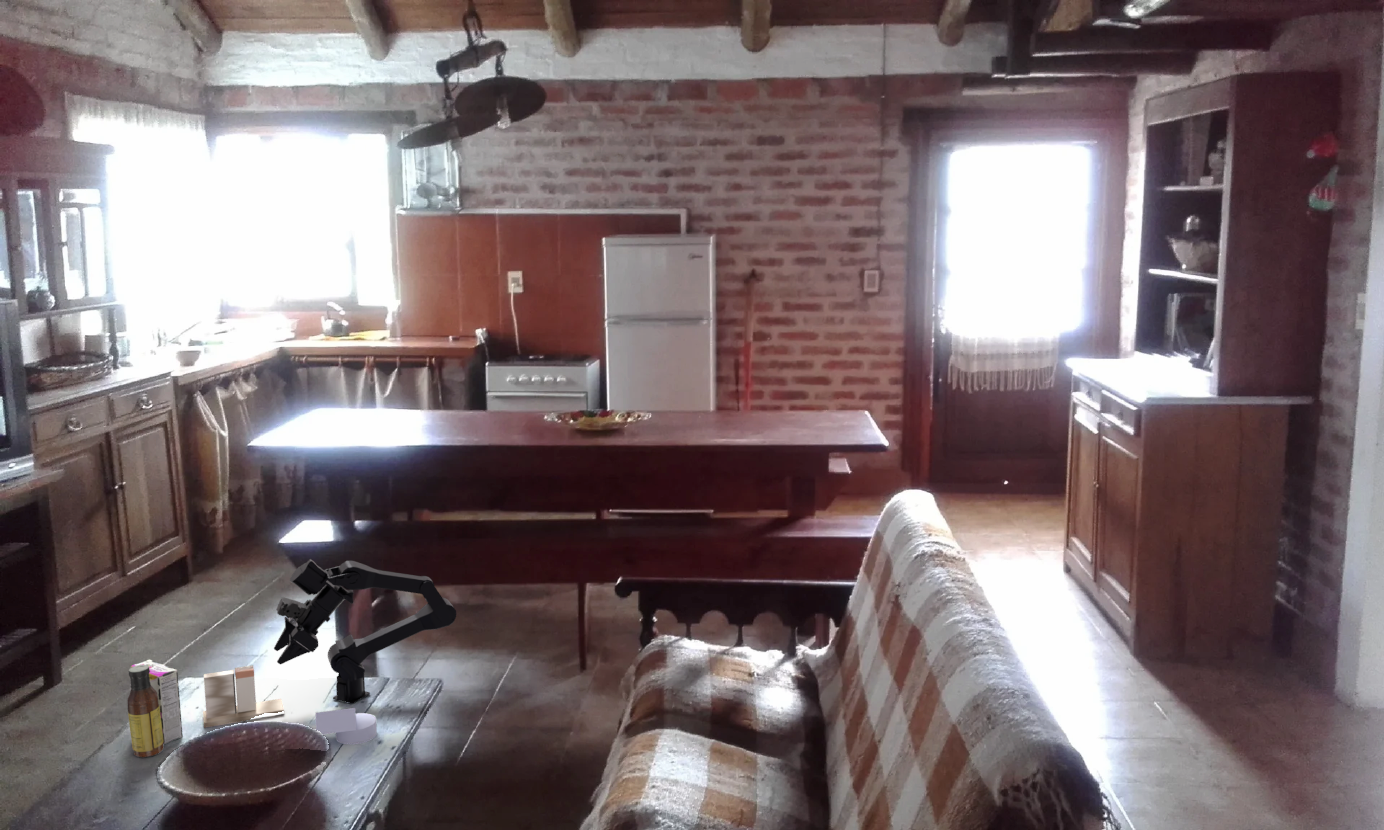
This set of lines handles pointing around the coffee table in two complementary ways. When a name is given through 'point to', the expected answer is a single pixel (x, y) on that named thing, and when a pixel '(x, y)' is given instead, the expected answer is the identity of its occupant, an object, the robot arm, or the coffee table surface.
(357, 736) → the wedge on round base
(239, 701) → the white tall block
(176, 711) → the candy bar box
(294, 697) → the coffee table surface
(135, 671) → the sauce bottle
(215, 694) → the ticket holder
